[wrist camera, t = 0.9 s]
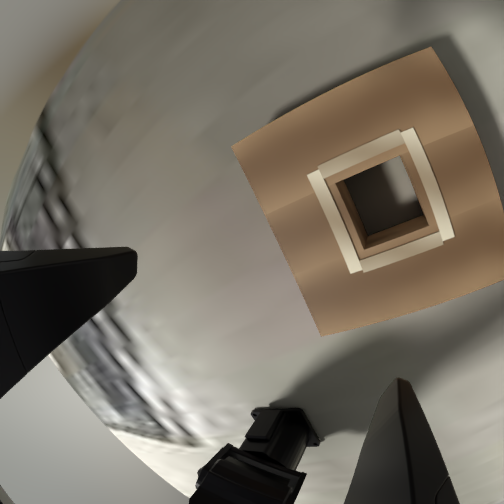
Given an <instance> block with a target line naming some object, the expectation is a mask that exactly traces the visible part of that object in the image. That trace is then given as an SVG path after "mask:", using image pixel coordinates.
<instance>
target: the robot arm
mask: <svg viewBox="0 0 504 504" xmlns="http://www.w3.org/2000/svg"><path fill="white" fill-rule="evenodd" d="M137 257H138V256H137V252H136V251H134V250H133V249H131V248H129V247H108V248H80V249H54V250H37V251H35V250H29V251H0V399H1V398H2V397H3V396H4V395H5V394H6V393H7V392H8V391H9V390H10V389H11V388H12V387H13V386H14V385H16V383H18V382H19V381H20V380H21V379H22V378H23V377H24V376H25V375H26V374H27V373H28V372H29V371H30V370H32V369H33V368H34V367H35V366H36V365H37V364H38V363H40V362H41V361H42V360H43V359H44V358H45V357H46V356H47V355H49V354H50V353H51V352H52V351H53V350H54V349H55V348H57V347H58V346H59V345H60V344H61V343H62V342H64V341H65V340H66V339H67V338H68V337H69V336H71V335H72V334H73V333H74V332H75V331H76V330H78V329H79V328H80V327H81V326H82V325H84V324H85V323H86V322H87V321H88V320H90V319H91V318H92V317H93V316H94V315H96V314H97V313H98V312H99V311H101V310H102V309H103V308H104V307H105V306H106V305H108V304H109V303H110V302H111V301H112V300H113V299H114V298H115V297H116V296H117V295H118V294H119V293H120V292H121V291H122V290H123V289H124V288H125V287H126V286H127V285H128V284H129V283H130V282H131V281H132V280H133V279H134V278H135V276H136V274H137ZM251 416H252V417H253V418H254V420H255V421H254V423H253V424H252V426H251V428H250V429H249V431H248V432H247V434H246V435H245V438H246V439H245V441H244V442H243V444H242V445H241V447H240V448H239V449H238V448H236V447H234V446H233V445H231V444H229V443H228V444H227V445H226V446H225V447H224V448H221V450H220V451H219V452H218V453H217V454H216V455H215V456H214V457H213V458H212V459H211V460H210V461H209V462H208V463H207V464H206V465H205V466H203V467H202V468H200V469H199V470H198V472H197V474H198V480H197V482H196V489H197V490H196V491H195V493H194V494H193V495H192V496H191V498H190V499H189V504H294V502H295V500H296V498H297V495H298V493H299V491H300V489H301V486H302V484H303V482H304V479H305V477H306V475H307V473H304V472H302V473H301V472H298V471H296V468H297V466H298V464H299V462H300V460H301V458H302V456H303V454H304V451H305V449H306V447H317V446H319V445H320V440H319V438H318V437H317V435H316V433H315V431H314V429H313V428H312V426H311V424H310V422H309V421H308V419H307V417H306V415H305V413H304V412H303V410H302V409H300V408H291V409H268V410H253V411H252V412H251ZM448 475H449V473H448V471H447V468H446V465H445V463H444V460H443V458H442V455H441V453H440V450H439V448H438V445H437V443H436V440H435V438H434V435H433V433H432V431H431V428H430V426H429V424H428V421H427V419H426V417H425V414H424V412H423V410H422V408H421V405H420V403H419V401H418V399H417V397H416V394H415V392H414V390H413V388H412V386H411V384H410V382H409V381H407V380H404V379H402V378H396V379H395V380H394V381H393V382H392V383H391V385H390V386H389V387H388V388H387V390H386V391H385V392H384V393H383V395H382V396H381V398H380V400H379V402H378V405H377V408H376V411H375V414H374V417H373V419H372V422H371V425H370V427H369V430H368V433H367V435H366V438H365V440H364V443H363V446H362V449H361V453H360V456H359V459H358V463H357V466H356V469H355V473H354V476H353V479H352V482H351V485H350V488H349V491H348V494H347V496H346V499H345V502H344V504H460V503H459V501H458V498H457V495H456V492H455V490H454V487H453V484H452V481H451V479H450V477H449V476H448ZM0 504H14V503H13V501H12V500H11V499H10V498H9V496H8V495H7V494H6V492H5V491H4V490H3V488H2V487H1V485H0Z"/></svg>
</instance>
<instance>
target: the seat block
mask: <svg viewBox="0 0 504 504" xmlns="http://www.w3.org/2000/svg"><path fill="white" fill-rule="evenodd" d="M231 147H232V149H233V151H234V153H235V155H236V157H237V159H238V161H239V163H240V165H241V167H242V169H243V171H244V173H245V175H246V177H247V179H248V181H249V183H250V185H251V187H252V189H253V191H254V193H255V196H256V198H257V200H258V202H259V204H260V206H261V208H262V210H263V212H264V214H265V216H266V218H267V220H268V222H269V224H270V227H271V229H272V231H273V233H274V235H275V237H276V239H277V241H278V243H279V245H280V248H281V250H282V252H283V254H284V256H285V258H286V260H287V263H288V265H289V267H290V269H291V271H292V273H293V275H294V278H295V280H296V282H297V284H298V286H299V288H300V291H301V293H302V295H303V297H304V299H305V302H306V304H307V306H308V308H309V310H310V313H311V315H312V317H313V319H314V321H315V324H316V326H317V328H318V330H319V333H320V335H321V336H326V335H330V334H334V333H339V332H343V331H347V330H351V329H355V328H359V327H363V326H367V325H370V324H374V323H378V322H381V321H385V320H389V319H392V318H396V317H399V316H402V315H406V314H409V313H412V312H416V311H419V310H422V309H425V308H428V307H431V306H434V305H437V304H440V303H443V302H446V301H449V300H452V299H455V298H458V297H460V296H463V295H466V294H469V293H471V292H474V291H477V290H479V289H482V288H484V287H487V286H489V285H492V284H494V283H497V282H499V281H502V280H504V211H503V207H502V204H501V200H500V196H499V193H498V189H497V186H496V183H495V180H494V176H493V173H492V170H491V167H490V164H489V162H488V159H487V156H486V153H485V151H484V148H483V146H482V143H481V141H480V138H479V136H478V133H477V131H476V129H475V126H474V124H473V122H472V119H471V117H470V115H469V113H468V111H467V109H466V107H465V105H464V103H463V101H462V99H461V97H460V95H459V93H458V91H457V89H456V87H455V85H454V83H453V82H452V80H451V78H450V76H449V75H448V73H447V71H446V69H445V68H444V66H443V64H442V63H441V61H440V59H439V58H438V56H437V55H436V53H435V52H434V50H433V49H432V47H429V48H426V49H423V50H421V51H418V52H415V53H413V54H410V55H408V56H405V57H403V58H400V59H398V60H395V61H393V62H390V63H388V64H386V65H383V66H381V67H379V68H377V69H374V70H372V71H370V72H368V73H365V74H363V75H361V76H359V77H357V78H355V79H352V80H350V81H348V82H346V83H344V84H342V85H340V86H338V87H336V88H334V89H332V90H330V91H328V92H326V93H324V94H322V95H320V96H318V97H316V98H314V99H312V100H310V101H309V102H307V103H305V104H303V105H301V106H299V107H297V108H296V109H294V110H292V111H290V112H288V113H287V114H285V115H283V116H281V117H279V118H278V119H276V120H274V121H273V122H271V123H269V124H267V125H266V126H264V127H262V128H261V129H259V130H257V131H256V132H254V133H252V134H251V135H249V136H247V137H246V138H244V139H242V140H241V141H239V142H238V143H236V144H234V145H233V146H231ZM397 156H400V157H401V159H402V162H403V164H404V166H405V169H406V171H407V173H408V176H409V178H410V180H411V183H412V185H413V188H414V190H415V193H416V196H417V198H418V201H419V204H420V206H421V209H422V212H423V215H422V216H420V217H417V218H414V219H412V220H409V221H407V222H404V223H401V224H399V225H396V226H394V227H391V228H388V229H386V230H383V231H380V232H378V233H375V234H372V235H370V236H368V235H367V233H366V230H365V228H364V226H363V223H362V221H361V218H360V216H359V214H358V211H357V209H356V207H355V204H354V202H353V200H352V197H351V195H350V193H349V191H348V189H347V186H346V184H345V182H344V179H346V178H348V177H351V176H353V175H355V174H357V173H360V172H362V171H364V170H367V169H369V168H371V167H374V166H376V165H378V164H381V163H383V162H385V161H388V160H390V159H392V158H395V157H397Z"/></svg>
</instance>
